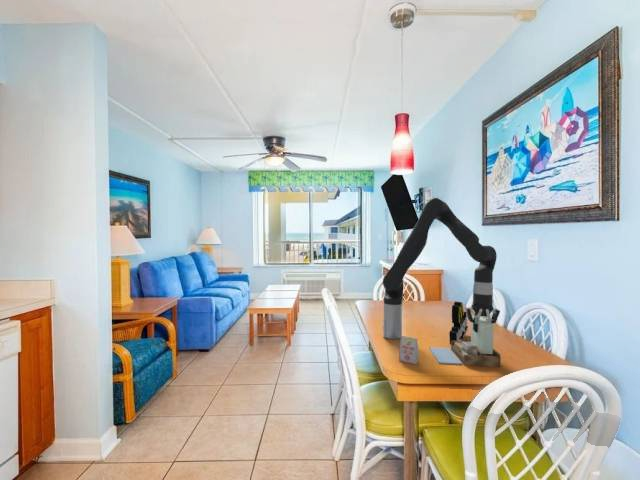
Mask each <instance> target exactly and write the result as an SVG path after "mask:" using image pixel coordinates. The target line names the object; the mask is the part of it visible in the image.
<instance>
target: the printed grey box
mask: <svg viewBox="0 0 640 480" xmlns="http://www.w3.org/2000/svg"><path fill="white" fill-rule="evenodd" d="M399 339H400V340H399V346H398V361H399V362H403V363H406V364H411V365H417V363H418V362H419V345H418V344H419V343H418V339H417V338H414V337H410V336H404V335H402V336H401V338H399Z"/></svg>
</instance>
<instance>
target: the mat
mask: <svg viewBox="0 0 640 480" xmlns="http://www.w3.org/2000/svg"><path fill="white" fill-rule="evenodd" d="M428 349H429V350H430V352H431V353H432V355H433V356H434V358H435V360H436V361H437V363H438V364H440V365H460V366H462V365H463V363H462V362H461V361H460V359H459V358H458V357H457V356H456V355H455V353H454V352H453V351H452V350H451V347H450V348H449V347H430V346H429V348H428Z"/></svg>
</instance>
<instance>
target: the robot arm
mask: <svg viewBox="0 0 640 480" xmlns="http://www.w3.org/2000/svg"><path fill="white" fill-rule="evenodd" d="M435 220H437V221H439V222H440V223H442V224H443V225H444V226H446V227H447V228H448V230H449V231H450V232H451V235H453V237H454V238H455V239H456V240H457V241H458V242H459V243H460V244H461V245H462V246H463V247H464V248H465V250H466V252H467V254H468V255H469V257H471V258H472V260H474V261H475V262H478V263H479V265H478V267H476V268H475V269H474V272H473V275H474V276H473V288H472V305H471V306H470V307H467V306H466V307H465V308H464V309H465V312H466V313H467V320H468V322H473V330H474V331H475V332H476V333H477V332H478V324H477V323H478V320H479V319H480V316H481V317H484V319H486V320H487V321H489V322H490V323H492V324H496V323H497V320H498V318H499V315H500V312H501V311H500V309H498V308H495V307H494V306H493V302H494V301H493V297H494V285H493V276H494V275H493V274H494V273H493V272H494V270H495V266H496V262H497V251H496V249H495V247H493V246H491V245H482V244H481V243H480V237H479V236H477V234H476V233H475V232H474V231H472V229H470V228H469V227H468V226H467V225H465V224H464V223H463V222H462V221H461V220H460V219H459V218H458V217H457V216H456V215H455V213H454V212H453V211H452V209H451V208H450V206H449V205H448V204H447V202H445V201H444V200H442V199H440V198H438V197H432V198H430V199H428V200H427V202H426V204H424V206H423V209H422V211H421V213H420V216H419V218H418V219H417V221H416V222H415V225H414V227H413V229H412V230H411V233H409V236H408V237H407V239H406V240H405V242H404V243H403V245H402V247H401V249H400V251H399V252H398V254H397V256H396V257H397V258H396V259H395V261H394V263H393V264H392V265H391V267H390V269H389V270H388V271H387V273H386V274H385V275H384V277H383V279H382V285H383V288H384V289H385V291H384V296H383V317H382V335H383V338H384V339H390V340H399V339H401V336H403V334H402V333H403V328H402V327H403V298H404V277H405V275H406V273H407V272H408V270H409V269H410V268H411V267H412V265H413V264H414V263H415V262H416V261H417V259H418V258H419V256H420V255H421V253H423V250H424V249H425V246H426V245H427V242H428V241H427V240H428V236H429V230H430V228H431V227H432V224H433V222H434V221H435ZM472 312H474V315H472ZM491 313H492V316H491ZM472 316H474V319H473V318H472Z"/></svg>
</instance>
